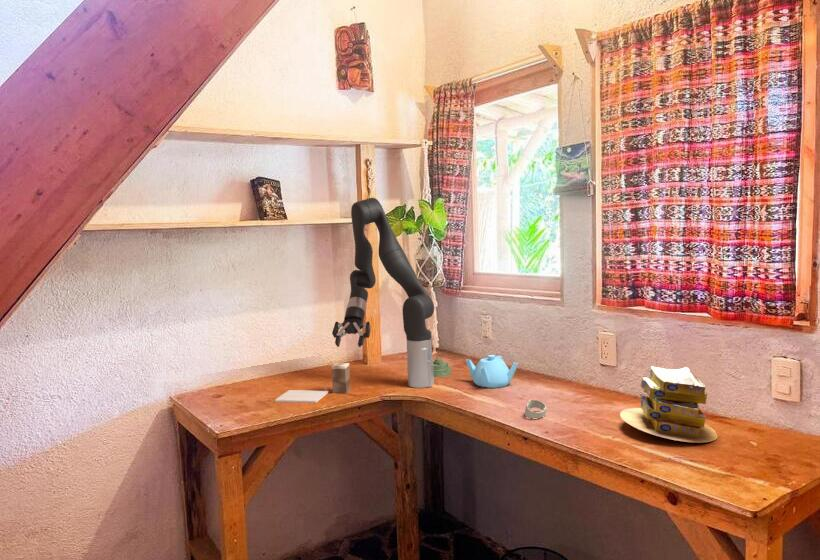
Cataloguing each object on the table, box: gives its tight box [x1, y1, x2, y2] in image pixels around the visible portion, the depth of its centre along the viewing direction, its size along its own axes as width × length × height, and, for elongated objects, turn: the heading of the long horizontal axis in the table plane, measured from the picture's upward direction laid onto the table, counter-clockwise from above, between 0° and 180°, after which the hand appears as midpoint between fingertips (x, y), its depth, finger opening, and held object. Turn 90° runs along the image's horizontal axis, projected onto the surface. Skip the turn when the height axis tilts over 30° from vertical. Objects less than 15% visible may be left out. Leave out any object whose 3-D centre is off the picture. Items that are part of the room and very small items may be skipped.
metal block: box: [331, 362, 351, 395], centre depth 222 cm, size 5×5×10 cm
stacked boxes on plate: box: [619, 366, 718, 444], centre depth 169 cm, size 25×25×17 cm
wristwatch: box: [524, 398, 547, 419], centre depth 187 cm, size 9×6×5 cm
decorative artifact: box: [433, 356, 452, 378], centre depth 244 cm, size 10×7×10 cm
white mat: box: [274, 389, 329, 404], centre depth 217 cm, size 15×13×1 cm
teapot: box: [465, 354, 519, 389], centre depth 225 cm, size 15×15×11 cm
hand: (348, 345), depth 232 cm, fingers open, 8 cm apart
